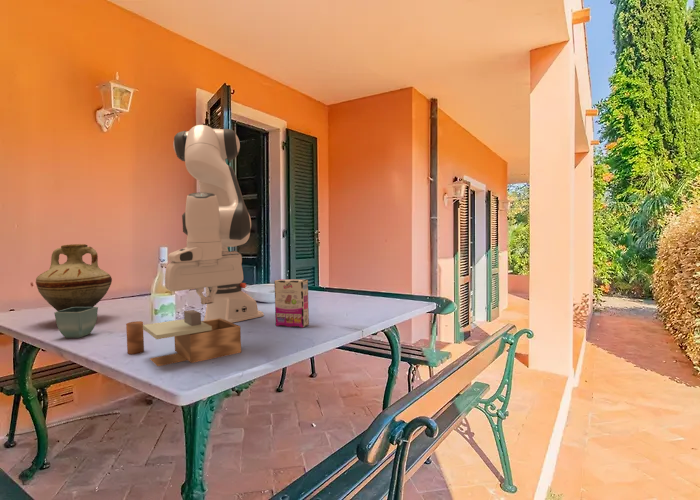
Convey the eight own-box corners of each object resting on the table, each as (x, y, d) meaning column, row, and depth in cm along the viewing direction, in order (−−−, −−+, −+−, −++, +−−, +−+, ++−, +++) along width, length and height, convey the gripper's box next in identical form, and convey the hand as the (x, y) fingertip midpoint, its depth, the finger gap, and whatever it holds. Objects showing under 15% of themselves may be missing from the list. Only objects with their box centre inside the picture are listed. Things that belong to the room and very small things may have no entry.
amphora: (31, 323, 150) (27, 244, 149) (101, 313, 168) (98, 243, 167) (47, 333, 134) (42, 245, 133) (122, 320, 152) (119, 243, 151)
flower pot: (81, 339, 125) (80, 311, 125) (54, 340, 125) (53, 312, 125) (99, 332, 134) (98, 306, 134) (74, 333, 134) (73, 306, 134)
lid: (193, 321, 111) (193, 307, 111) (211, 330, 100) (211, 314, 100) (142, 328, 103) (142, 313, 103) (156, 339, 92) (155, 322, 92)
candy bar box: (309, 325, 141) (308, 279, 140) (303, 328, 136) (302, 280, 135) (281, 323, 144) (280, 278, 143) (274, 326, 139) (273, 280, 139)
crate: (221, 345, 117) (220, 318, 116) (241, 355, 106) (240, 326, 105) (147, 359, 104) (145, 329, 104) (161, 373, 93) (159, 340, 93)
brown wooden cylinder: (142, 352, 110) (141, 320, 110) (145, 355, 107) (144, 323, 107) (126, 355, 108) (124, 322, 107) (129, 358, 105) (127, 325, 104)
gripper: (236, 249, 115) (238, 296, 116) (161, 254, 102) (164, 307, 103) (246, 250, 110) (248, 299, 111) (168, 256, 97) (171, 311, 98)
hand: (207, 303), depth 107 cm, fingers closed
